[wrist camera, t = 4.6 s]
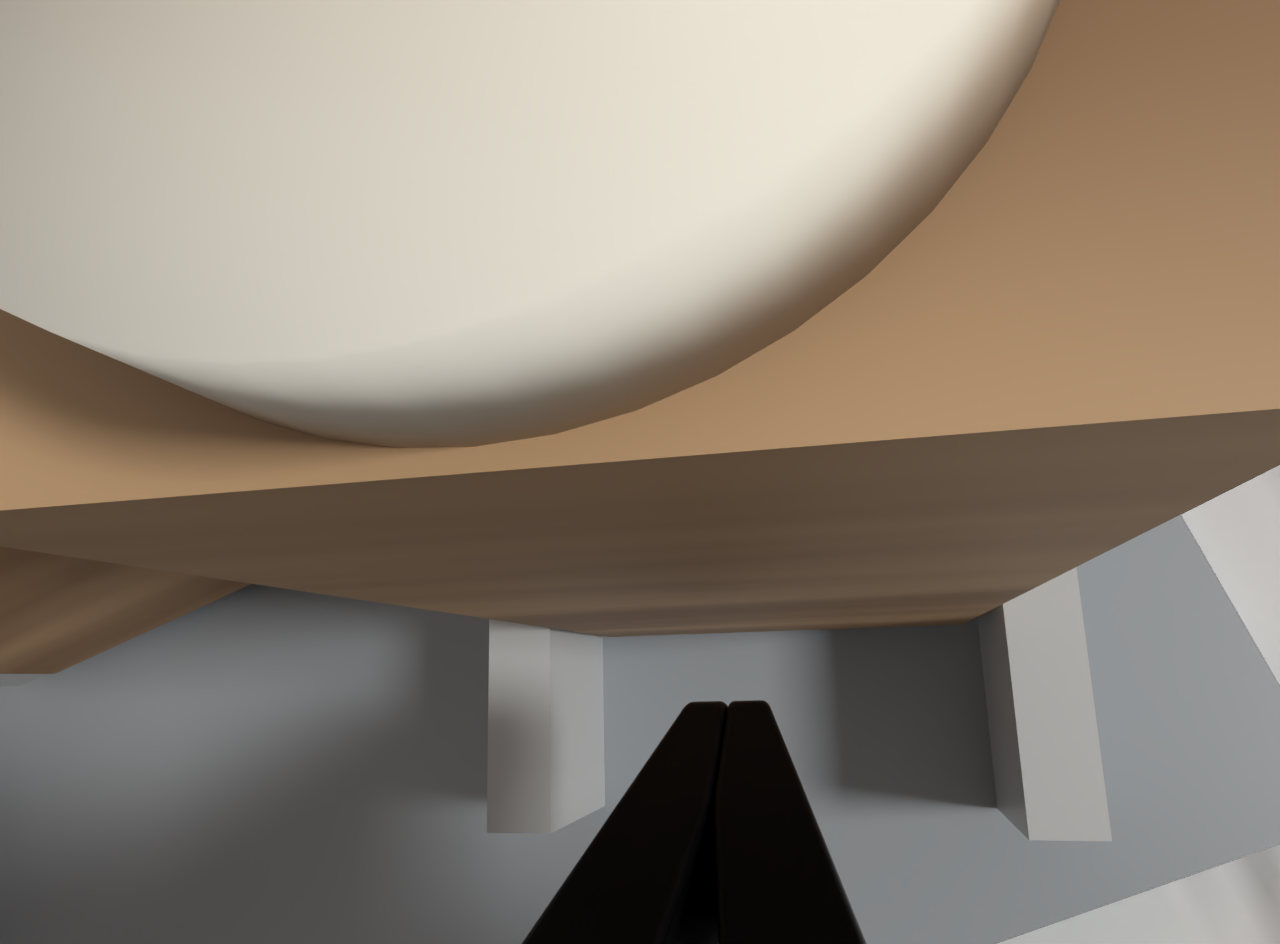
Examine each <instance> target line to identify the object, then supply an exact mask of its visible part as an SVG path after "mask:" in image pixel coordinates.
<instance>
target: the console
mask: <svg viewBox="0 0 1280 944" xmlns="http://www.w3.org/2000/svg"><path fill="white" fill-rule="evenodd" d="M752 700H763V701H766V702H767V703H768V704H769V705H770V707H771V710H772V712H773V715H774V717H775V720H776V722H777V725H778V727H779V729H780V732H781V734H782V737H783V739H784V742H785V744H786V747H787V749H788V752H789V754H790V757H791V759H792V761H793V764H794V766H795V769H796V771H797V774H798V776H799V779H800V781H801V784H802V786H803V789H804V791H805V793H806V796H807V798H808V801H809V803H810V806H811V808H812V811H813V813H814V816H815V818H816V820H817V823H818V825H819V828H820V830H821V833H822V835H823V838H824V840H825V843H826V845H827V848H828V850H829V852H830V855H831V857H832V860H833V862H834V865H835V867H836V870H837V872H838V875H839V877H840V880H841V882H842V884H843V887H844V889H845V892H846V894H847V897H848V899H849V902H850V904H851V907H852V909H853V912H854V914H855V916H856V919H857V921H858V924H859V926H860V929H861V931H862V934H863V936H864V939H865V941H866V944H997V943H999V942H1002V941H1005V940H1008V939H1011V938H1014V937H1017V936H1019V935H1022V934H1025V933H1028V932H1031V931H1034V930H1036V929H1039V928H1042V927H1045V926H1048V925H1051V924H1054V923H1056V922H1059V921H1062V920H1065V919H1068V918H1071V917H1074V916H1076V915H1079V914H1082V913H1085V912H1088V911H1091V910H1094V909H1096V908H1099V907H1102V906H1105V905H1108V904H1111V903H1113V902H1116V901H1119V900H1122V899H1125V898H1128V897H1131V896H1133V895H1136V894H1139V893H1142V892H1145V891H1148V890H1151V889H1153V888H1156V887H1159V886H1162V885H1165V884H1168V883H1171V882H1173V881H1176V880H1179V879H1182V878H1185V877H1188V876H1190V875H1193V874H1196V873H1199V872H1202V871H1205V870H1208V869H1210V868H1213V867H1216V866H1219V865H1222V864H1225V863H1228V862H1230V861H1233V860H1236V859H1239V858H1242V857H1245V856H1247V855H1250V854H1253V853H1256V852H1259V851H1262V850H1265V849H1267V848H1270V847H1273V846H1276V845H1279V844H1280V685H1279V683H1278V681H1277V680H1276V678H1275V676H1274V675H1273V673H1272V671H1271V669H1270V668H1269V666H1268V664H1267V662H1266V661H1265V659H1264V657H1263V656H1262V654H1261V652H1260V650H1259V649H1258V647H1257V645H1256V643H1255V642H1254V640H1253V638H1252V637H1251V635H1250V633H1249V631H1248V630H1247V628H1246V626H1245V624H1244V623H1243V621H1242V619H1241V618H1240V616H1239V614H1238V612H1237V611H1236V609H1235V607H1234V605H1233V604H1232V602H1231V600H1230V599H1229V597H1228V595H1227V593H1226V592H1225V590H1224V588H1223V586H1222V585H1221V583H1220V581H1219V580H1218V578H1217V576H1216V574H1215V573H1214V571H1213V569H1212V567H1211V566H1210V564H1209V562H1208V561H1207V559H1206V557H1205V555H1204V554H1203V552H1202V550H1201V548H1200V547H1199V545H1198V543H1197V542H1196V540H1195V538H1194V536H1193V535H1192V533H1191V531H1190V529H1189V528H1188V526H1187V524H1186V523H1185V521H1184V519H1183V517H1182V516H1181V515H1179V516H1177V517H1175V518H1173V519H1171V520H1169V521H1167V522H1165V523H1163V524H1161V525H1159V526H1157V527H1155V528H1153V529H1151V530H1149V531H1147V532H1145V533H1143V534H1141V535H1139V536H1137V537H1135V538H1133V539H1131V540H1129V541H1127V542H1125V543H1123V544H1121V545H1119V546H1117V547H1115V548H1113V549H1111V550H1109V551H1107V552H1105V553H1103V554H1101V555H1099V556H1097V557H1095V558H1093V559H1091V560H1089V561H1087V562H1085V563H1083V564H1081V565H1079V566H1077V567H1075V568H1073V569H1072V570H1070V571H1068V572H1066V573H1064V574H1062V575H1060V576H1058V577H1056V578H1054V579H1052V580H1050V581H1048V582H1046V583H1044V584H1042V585H1040V586H1038V587H1036V588H1034V589H1032V590H1030V591H1028V592H1026V593H1024V594H1022V595H1020V596H1018V597H1016V598H1014V599H1012V600H1010V601H1008V602H1006V603H1004V604H1002V605H1000V606H998V607H996V608H994V609H992V610H990V611H988V612H986V613H984V614H982V615H980V616H978V617H976V618H974V619H972V620H970V621H968V622H966V623H964V624H958V625H930V626H902V627H874V628H847V629H819V630H791V631H763V632H735V633H707V634H679V635H651V636H624V637H608V636H601V635H594V634H588V633H581V632H574V631H567V630H561V629H554V628H547V627H541V626H534V625H527V624H520V623H514V622H507V621H500V620H493V619H487V618H480V617H473V616H466V615H460V614H453V613H446V612H439V611H433V610H426V609H419V608H412V607H406V606H399V605H392V604H385V603H379V602H372V601H365V600H358V599H352V598H345V597H338V596H332V595H325V594H318V593H311V592H305V591H298V590H291V589H284V588H278V587H271V586H264V585H257V584H251V585H248V586H246V587H244V588H242V589H240V590H237V591H235V592H233V593H231V594H229V595H227V596H224V597H222V598H220V599H218V600H216V601H213V602H211V603H209V604H207V605H205V606H202V607H200V608H198V609H196V610H194V611H191V612H189V613H187V614H185V615H183V616H180V617H178V618H176V619H174V620H172V621H169V622H167V623H165V624H163V625H161V626H158V627H156V628H154V629H152V630H150V631H148V632H145V633H143V634H141V635H139V636H137V637H134V638H132V639H130V640H128V641H126V642H123V643H121V644H119V645H117V646H115V647H112V648H110V649H108V650H106V651H104V652H101V653H99V654H97V655H95V656H93V657H90V658H88V659H86V660H84V661H82V662H80V663H77V664H75V665H73V666H71V667H69V668H66V669H64V670H62V671H60V672H58V673H55V674H0V944H522V942H523V941H524V939H525V938H526V936H527V935H528V934H529V932H530V931H531V929H532V928H533V926H534V925H535V923H536V922H537V920H538V919H539V918H540V916H541V915H542V913H543V912H544V910H545V909H546V907H547V906H548V904H549V903H550V902H551V900H552V899H553V897H554V896H555V894H556V893H557V891H558V890H559V888H560V887H561V886H562V884H563V883H564V881H565V880H566V878H567V877H568V875H569V874H570V872H571V871H572V870H573V868H574V867H575V865H576V864H577V862H578V861H579V859H580V858H581V856H582V855H583V854H584V852H585V851H586V849H587V848H588V846H589V845H590V843H591V842H592V840H593V839H594V838H595V836H596V835H597V833H598V832H599V830H600V829H601V827H602V826H603V824H604V823H605V822H606V820H607V819H608V817H609V816H610V814H611V813H612V811H613V810H614V808H615V807H616V806H617V804H618V803H619V801H620V800H621V798H622V797H623V795H624V794H625V792H626V791H627V790H628V788H629V787H630V785H631V784H632V782H633V781H634V779H635V778H636V776H637V775H638V774H639V772H640V771H641V769H642V768H643V766H644V765H645V763H646V762H647V760H648V759H649V758H650V756H651V755H652V753H653V752H654V750H655V749H656V747H657V746H658V744H659V743H660V742H661V740H662V739H663V737H664V736H665V734H666V733H667V731H668V730H669V728H670V727H671V726H672V724H673V723H674V721H675V720H676V718H677V717H678V715H679V714H680V712H681V711H682V709H683V708H684V707H685V706H686V705H687V704H688V703H690V702H700V701H722V702H724V703H726V704H727V706H729V704H730V703H731V702H732V701H752Z"/></svg>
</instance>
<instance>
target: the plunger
mask: <svg viewBox="0 0 1280 944" xmlns="http://www.w3.org/2000/svg"><path fill="white" fill-rule="evenodd" d="M1278 465H1280V0H0V546H1V547H8V548H15V549H21V550H28V551H35V552H42V553H48V554H55V555H62V556H69V557H75V558H82V559H89V560H96V561H102V562H109V563H116V564H122V565H129V566H136V567H143V568H149V569H156V570H163V571H170V572H176V573H183V574H190V575H197V576H203V577H210V578H217V579H224V580H230V581H237V582H244V583H251V584H257V585H264V586H271V587H278V588H284V589H291V590H298V591H305V592H311V593H318V594H325V595H332V596H338V597H345V598H352V599H358V600H365V601H372V602H379V603H385V604H392V605H399V606H406V607H412V608H419V609H426V610H433V611H439V612H446V613H453V614H460V615H466V616H473V617H480V618H487V619H493V620H500V621H507V622H514V623H520V624H527V625H534V626H541V627H547V628H554V629H561V630H567V631H574V632H581V633H588V634H594V635H601V636H608V637H624V636H651V635H679V634H707V633H735V632H763V631H791V630H819V629H847V628H874V627H902V626H930V625H958V624H964V623H966V622H968V621H970V620H972V619H974V618H976V617H978V616H980V615H982V614H984V613H986V612H988V611H990V610H992V609H994V608H996V607H998V606H1000V605H1002V604H1004V603H1006V602H1008V601H1010V600H1012V599H1014V598H1016V597H1018V596H1020V595H1022V594H1024V593H1026V592H1028V591H1030V590H1032V589H1034V588H1036V587H1038V586H1040V585H1042V584H1044V583H1046V582H1048V581H1050V580H1052V579H1054V578H1056V577H1058V576H1060V575H1062V574H1064V573H1066V572H1068V571H1070V570H1072V569H1073V568H1075V567H1077V566H1079V565H1081V564H1083V563H1085V562H1087V561H1089V560H1091V559H1093V558H1095V557H1097V556H1099V555H1101V554H1103V553H1105V552H1107V551H1109V550H1111V549H1113V548H1115V547H1117V546H1119V545H1121V544H1123V543H1125V542H1127V541H1129V540H1131V539H1133V538H1135V537H1137V536H1139V535H1141V534H1143V533H1145V532H1147V531H1149V530H1151V529H1153V528H1155V527H1157V526H1159V525H1161V524H1163V523H1165V522H1167V521H1169V520H1171V519H1173V518H1175V517H1177V516H1179V515H1181V514H1183V513H1185V512H1187V511H1189V510H1191V509H1193V508H1195V507H1197V506H1199V505H1201V504H1203V503H1205V502H1207V501H1209V500H1211V499H1213V498H1215V497H1217V496H1219V495H1221V494H1223V493H1225V492H1227V491H1229V490H1231V489H1233V488H1235V487H1237V486H1239V485H1241V484H1243V483H1245V482H1247V481H1249V480H1251V479H1253V478H1255V477H1257V476H1259V475H1261V474H1263V473H1264V472H1266V471H1268V470H1270V469H1272V468H1274V467H1276V466H1278Z"/></svg>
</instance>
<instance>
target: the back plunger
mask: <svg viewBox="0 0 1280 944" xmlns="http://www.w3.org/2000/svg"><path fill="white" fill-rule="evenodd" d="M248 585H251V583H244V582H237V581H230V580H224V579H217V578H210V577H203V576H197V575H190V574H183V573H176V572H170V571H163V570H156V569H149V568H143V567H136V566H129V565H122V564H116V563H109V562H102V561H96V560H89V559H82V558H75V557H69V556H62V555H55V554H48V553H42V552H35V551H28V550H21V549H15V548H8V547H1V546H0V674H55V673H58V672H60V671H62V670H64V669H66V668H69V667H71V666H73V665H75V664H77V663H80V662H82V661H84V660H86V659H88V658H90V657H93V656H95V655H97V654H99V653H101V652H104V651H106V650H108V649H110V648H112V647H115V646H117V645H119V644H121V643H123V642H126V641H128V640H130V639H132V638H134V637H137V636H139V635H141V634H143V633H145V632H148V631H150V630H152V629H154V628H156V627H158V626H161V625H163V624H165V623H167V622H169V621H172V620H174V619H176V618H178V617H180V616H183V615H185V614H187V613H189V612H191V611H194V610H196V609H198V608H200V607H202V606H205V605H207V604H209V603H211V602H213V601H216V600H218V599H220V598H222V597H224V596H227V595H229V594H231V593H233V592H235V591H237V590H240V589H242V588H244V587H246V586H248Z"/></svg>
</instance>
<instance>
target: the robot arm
mask: <svg viewBox="0 0 1280 944" xmlns="http://www.w3.org/2000/svg"><path fill="white" fill-rule="evenodd" d="M522 944H866V941H865V939H864V936H863V934H862V931H861V929H860V926H859V924H858V921H857V919H856V916H855V914H854V912H853V909H852V907H851V904H850V902H849V899H848V897H847V894H846V892H845V889H844V887H843V884H842V882H841V880H840V877H839V875H838V872H837V870H836V867H835V865H834V862H833V860H832V857H831V855H830V852H829V850H828V848H827V845H826V843H825V840H824V838H823V835H822V833H821V830H820V828H819V825H818V823H817V820H816V818H815V816H814V813H813V811H812V808H811V806H810V803H809V801H808V798H807V796H806V793H805V791H804V789H803V786H802V784H801V781H800V779H799V776H798V774H797V771H796V769H795V766H794V764H793V761H792V759H791V757H790V754H789V752H788V749H787V747H786V744H785V742H784V739H783V737H782V734H781V732H780V729H779V727H778V725H777V722H776V720H775V717H774V715H773V712H772V710H771V707H770V705H769V704H768V703H767V702H766V701H763V700H752V701H732V702H731V703H730V704H729V706H727V704H726V703H724V702H722V701H700V702H690V703H688V704H687V705H686V706H685V707H684V708H683V709H682V711H681V712H680V714H679V715H678V717H677V718H676V720H675V721H674V723H673V724H672V726H671V727H670V728H669V730H668V731H667V733H666V734H665V736H664V737H663V739H662V740H661V742H660V743H659V744H658V746H657V747H656V749H655V750H654V752H653V753H652V755H651V756H650V758H649V759H648V760H647V762H646V763H645V765H644V766H643V768H642V769H641V771H640V772H639V774H638V775H637V776H636V778H635V779H634V781H633V782H632V784H631V785H630V787H629V788H628V790H627V791H626V792H625V794H624V795H623V797H622V798H621V800H620V801H619V803H618V804H617V806H616V807H615V808H614V810H613V811H612V813H611V814H610V816H609V817H608V819H607V820H606V822H605V823H604V824H603V826H602V827H601V829H600V830H599V832H598V833H597V835H596V836H595V838H594V839H593V840H592V842H591V843H590V845H589V846H588V848H587V849H586V851H585V852H584V854H583V855H582V856H581V858H580V859H579V861H578V862H577V864H576V865H575V867H574V868H573V870H572V871H571V872H570V874H569V875H568V877H567V878H566V880H565V881H564V883H563V884H562V886H561V887H560V888H559V890H558V891H557V893H556V894H555V896H554V897H553V899H552V900H551V902H550V903H549V904H548V906H547V907H546V909H545V910H544V912H543V913H542V915H541V916H540V918H539V919H538V920H537V922H536V923H535V925H534V926H533V928H532V929H531V931H530V932H529V934H528V935H527V936H526V938H525V939H524V941H523V942H522Z"/></svg>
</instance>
